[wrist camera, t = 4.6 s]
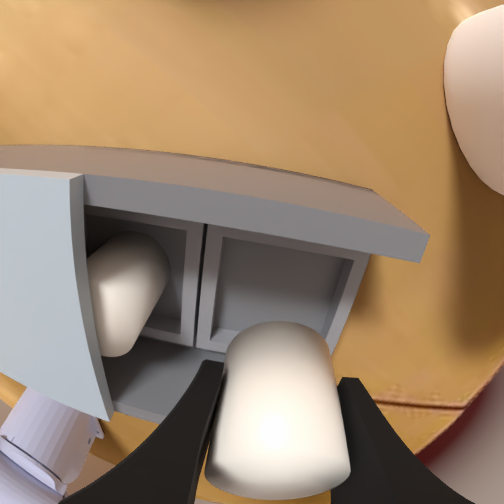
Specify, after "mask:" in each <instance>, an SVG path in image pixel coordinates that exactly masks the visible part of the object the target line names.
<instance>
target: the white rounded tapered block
mask: <svg viewBox="0 0 504 504" xmlns="http://www.w3.org/2000/svg"><path fill="white" fill-rule="evenodd" d="M86 261H87V271H88V281H89V289H90V297H91V304H92V311H93V317H94V323H95V329H96V335H97V340H98V345H99V350H100V355H102V356H107V357H117V356H121V355H124V354H126V353H127V352H129V351H130V350H131V348H132V347H133V345H134V343H135V341H136V339H137V338H138V336H139V334H140V332H141V330H142V328H143V327H144V325H145V323H146V321H147V319H148V318H149V316H150V314H151V312H152V310H153V309H154V307H155V305H156V303H157V301H158V300H159V298H160V296H161V294H162V293H163V291H164V289H165V287H166V286H167V284H168V282H169V278H170V264H169V261H168V258H167V256H166V254H165V252H164V250H163V249H162V248H161V246H160V245H159V244H158V243H157V242H156V241H155V240H154V239H152V238H151V237H149V236H147V235H146V234H143V233H141V232H137V231H123V232H120V233H118V234H116V235H114V236H113V237H112V238H111V239H109V240H108V241H107V242H106V243H105V244H104V245H102V246H101V247H100V248H99V249H98V250H97V251H95V252H94V253H93V254H92V255H91V256H90V257H89V258H87V259H86Z"/></svg>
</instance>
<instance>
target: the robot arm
mask: <svg viewBox="0 0 504 504" xmlns="http://www.w3.org/2000/svg"><path fill="white" fill-rule="evenodd" d="M223 369H224V362H218V361H213V360H208V359H205V360H203V361H202V363H201V366H200V368H199V370H198V372H197V374H196V375H195V377H194V379H193V381H192V382H191V384H190V385H189V387H188V388H187V390H186V391H185V393H184V394H183V396H182V397H181V398H180V400H179V401H178V403H177V404H176V405H175V407H174V408H173V409H172V411H171V412H170V413H169V414H168V415H167V417H166V418H165V419H164V420H163V421H162V423H161V424H160V425H159V426H158V427H157V428H156V429H155V430H154V431H153V433H152V434H151V435H150V436H149V437H148V438H147V439H146V440H145V441H144V442H143V443H142V444H141V445H140V446H139V447H137V448H136V449H135V450H134V451H133V452H132V453H131V454H130V455H128V456H127V457H126V458H125V459H124V460H123V461H121V462H120V463H119V464H118V465H116V466H115V467H114V468H113V469H111V470H110V471H108V472H107V473H106V474H104V475H103V476H101V477H100V478H99V479H97V480H95V481H94V482H93V483H91V484H90V485H88V486H86V487H84V488H83V489H81V490H79V491H77V492H76V493H74V494H72V495H70V496H69V495H68V494H67V492H65V491H66V489H67V485H66V484H68V483H70V482H72V481H74V480H75V479H76V478H77V477H78V476H79V474H80V472H81V470H82V467H83V465H84V463H85V460H86V458H87V455H88V453H89V451H90V449H91V446H92V444H93V442H94V439H95V437H98V438H101V439H103V438H104V433H103V431H102V429H101V426H100V424H99V421H98V419H97V417H94V416H92V415H89V414H87V413H84V412H81V411H79V410H76V409H74V408H72V407H69V406H67V405H65V404H62V403H60V402H58V401H56V400H53V399H51V398H49V397H47V396H45V395H43V394H41V393H39V392H37V391H35V390H33V389H31V388H29V387H27V388H26V390H25V391H24V393H23V394H22V396H21V397H20V399H19V400H18V402H17V403H16V405H15V406H14V408H13V409H12V411H11V412H10V414H9V416H8V417H7V419H6V420H5V422H4V424H3V425H2V427H1V428H0V504H194V501H195V495H196V490H197V484H198V480H199V476H200V473H201V469H202V466H203V462H204V459H205V455H206V452H207V448H208V445H209V441H210V438H211V432H212V426H213V421H214V415H215V411H216V406H217V402H218V397H219V392H220V386H221V381H222V375H223ZM337 390H338V396H339V401H340V407H341V412H342V418H343V424H344V430H345V436H346V442H347V449H348V455H349V462H350V470H351V472H350V475H349V476H348V478H347V479H346V480H345V481H344V482H343V483H341V484H340V485H338V486H336V487H335V488H333V489H331V504H475V503H473V502H471V501H469V500H468V499H466V498H464V497H463V496H461V495H460V494H458V493H456V492H455V491H454V490H452V489H451V488H450V487H448V486H447V485H446V484H445V483H443V482H442V481H441V480H440V479H439V478H438V477H436V476H435V475H434V474H433V473H432V472H431V471H430V470H428V469H427V468H426V467H425V466H424V465H423V463H421V461H420V460H419V459H418V458H417V457H416V456H415V455H414V454H413V453H412V452H411V451H410V449H409V448H408V447H407V446H406V445H405V443H404V442H403V441H402V440H401V438H400V437H399V436H398V435H397V433H396V432H395V431H394V429H393V428H392V427H391V425H390V424H389V423H388V421H387V420H386V418H385V417H384V416H383V414H382V413H381V411H380V410H379V408H378V407H377V405H376V404H375V402H374V401H373V399H372V398H371V396H370V395H369V393H368V392H367V390H366V389H365V387H364V386H363V384H362V383H361V381H360V380H359V378H349V377H342V379H341V381H340V383H339V385H338V387H337Z"/></svg>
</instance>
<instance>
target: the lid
mask: <svg viewBox="0 0 504 504" xmlns="http://www.w3.org/2000/svg"><path fill="white" fill-rule="evenodd" d="M83 181H84V174H79V173H67V172H55V171H41V170H25V169H6V168H0V372H1V373H3V374H5V375H7V376H8V377H10V378H12V379H14V380H15V381H17V382H19V383H21V384H23V385H25V386H27V387H29V388H31V389H33V390H35V391H37V392H39V393H41V394H43V395H45V396H47V397H49V398H51V399H53V400H56V401H58V402H60V403H62V404H65V405H67V406H69V407H72V408H74V409H76V410H79V411H81V412H84V413H87V414H89V415H92V416H94V417H97V418H100V419H103V420H105V421H108V422H110V420H111V418H112V416H113V413H114V411H115V410H114V407H113V403H112V400H111V396H110V393H109V389H108V385H107V381H106V377H105V373H104V368H103V364H102V359H101V355H100V350H99V345H98V340H97V335H96V329H95V323H94V317H93V311H92V304H91V297H90V289H89V281H88V271H87V261H86V248H85V232H84V202H83Z"/></svg>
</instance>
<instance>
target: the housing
mask: <svg viewBox="0 0 504 504" xmlns="http://www.w3.org/2000/svg"><path fill="white" fill-rule="evenodd" d="M0 168H6V169H25V170H41V171H55V172H67V173H79V174H84V181H83V202H84V232H85V248H86V259H87V258H89V257H90V256H91V255H92V254H93V253H94V252H95V251H97V250H98V249H99V248H100V247H101V246H102V245H104V244H105V243H106V242H107V241H108V240H109V239H111V238H112V237H113V236H114V235H116V234H118V233H120V232H123V231H137V232H141V233H143V234H146V235H147V236H149V237H151V238H152V239H154V240H155V241H156V242H157V243H158V244H159V245H160V246H161V248H162V249H163V250H164V252H165V254H166V256H167V258H168V261H169V264H170V278H169V282H168V284H167V286H166V287H165V289H164V291H163V293H162V294H161V296H160V298H159V300H158V301H157V303H156V305H155V307H154V309H153V310H152V312H151V314H150V316H149V318H148V319H147V321H146V323H145V325H144V327H143V328H142V330H141V332H140V334H139V336H138V338H137V339H136V341H135V343H134V345H133V347H132V348H131V350H130V351H129V352H127V353H126V354H124V355H121V356H117V357H107V356H102V355H101V359H102V364H103V368H104V373H105V377H106V381H107V385H108V389H109V393H110V396H111V400H112V403H113V407H114V410H115V411H117V412H120V413H123V414H126V415H129V416H133V417H136V418H139V419H143V420H146V421H150V422H154V423H158V424H161V423H162V421H163V420H164V419H165V418H166V417H167V415H168V414H169V413H170V412H171V411H172V409H173V408H174V407H175V405H176V404H177V403H178V401H179V400H180V398H181V397H182V396H183V394H184V393H185V391H186V390H187V388H188V387H189V385H190V384H191V382H192V381H193V379H194V377H195V375H196V374H197V372H198V370H199V368H200V366H201V363H202V361H203V360H205V359H208V360H213V361H218V362H224V360H225V355H226V351H227V348H228V346H229V344H230V342H231V341H232V340H233V338H234V337H235V336H237V335H238V334H239V333H240V332H242V331H243V330H245V329H247V328H249V327H251V326H254V325H257V324H260V323H264V322H270V321H288V322H295V323H299V324H302V325H305V326H307V327H309V328H311V329H313V330H315V331H316V332H318V333H319V334H320V335H321V336H322V337H323V338H324V340H325V341H326V343H327V344H328V347H329V350H330V355H331V356H332V353H333V351H334V349H335V346H336V344H337V342H338V339H339V337H340V335H341V332H342V330H343V327H344V325H345V323H346V320H347V318H348V315H349V313H350V310H351V307H352V305H353V302H354V300H355V297H356V294H357V292H358V289H359V286H360V284H361V281H362V278H363V275H364V272H365V270H366V267H367V264H368V261H369V258H370V255H371V254H376V255H381V256H387V257H392V258H396V259H401V260H406V261H411V262H416V263H420V261H421V259H422V256H423V253H424V251H425V248H426V245H427V242H428V239H429V237H430V235H429V234H428V233H427V232H426V231H425V230H423V229H422V228H421V227H420V226H419V225H417V224H416V223H415V222H414V221H412V220H411V219H410V218H409V217H407V216H406V215H405V214H404V213H402V212H401V211H400V210H398V209H397V208H396V207H394V206H393V205H392V204H391V203H389V202H388V201H387V200H385V199H384V198H383V197H381V196H380V195H379V194H377V193H376V192H374V191H373V190H372V189H368V188H364V187H360V186H356V185H352V184H347V183H343V182H339V181H335V180H330V179H326V178H321V177H317V176H312V175H307V174H302V173H297V172H292V171H287V170H282V169H277V168H271V167H266V166H260V165H254V164H249V163H242V162H236V161H230V160H223V159H216V158H209V157H202V156H194V155H186V154H178V153H169V152H160V151H149V150H138V149H126V148H112V147H96V146H72V145H1V146H0Z"/></svg>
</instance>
